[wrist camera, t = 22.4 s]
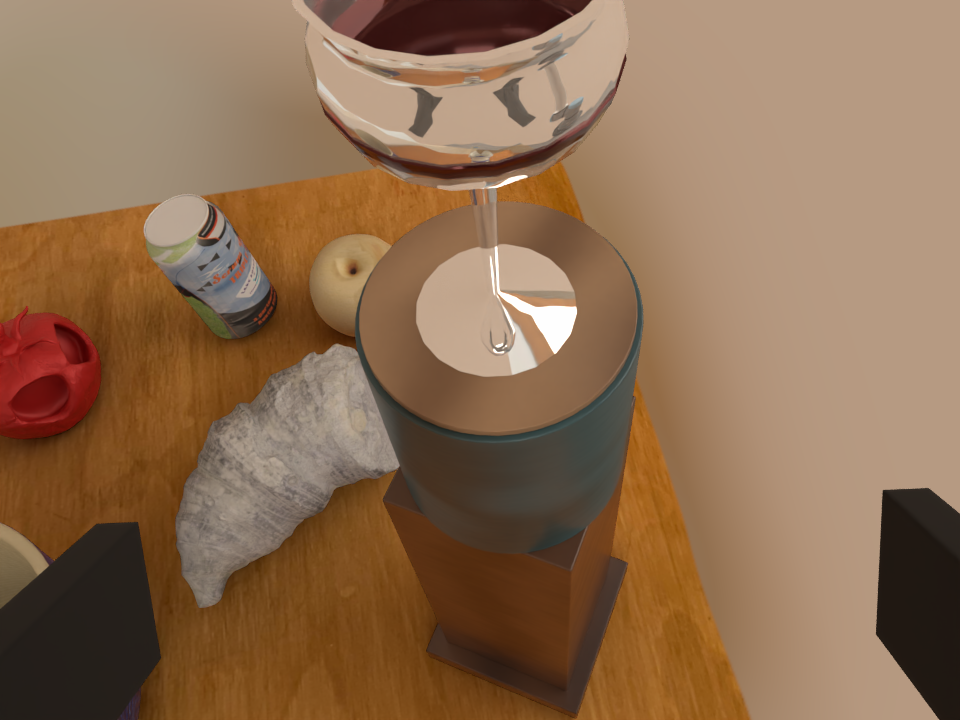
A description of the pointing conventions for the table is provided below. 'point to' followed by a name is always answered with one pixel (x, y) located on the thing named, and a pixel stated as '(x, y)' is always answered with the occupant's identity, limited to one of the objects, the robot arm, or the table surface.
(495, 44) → the wineglass
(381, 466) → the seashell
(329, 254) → the apple
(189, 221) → the beverage can
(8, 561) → the planter
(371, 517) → the table surface
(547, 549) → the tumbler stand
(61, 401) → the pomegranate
